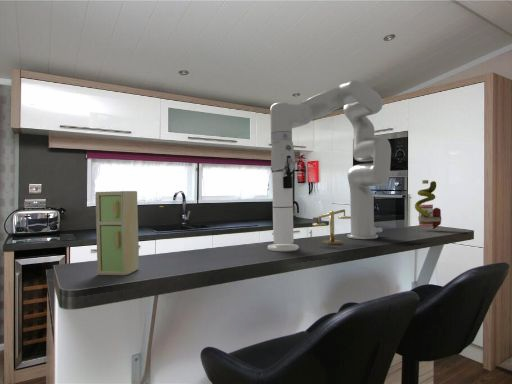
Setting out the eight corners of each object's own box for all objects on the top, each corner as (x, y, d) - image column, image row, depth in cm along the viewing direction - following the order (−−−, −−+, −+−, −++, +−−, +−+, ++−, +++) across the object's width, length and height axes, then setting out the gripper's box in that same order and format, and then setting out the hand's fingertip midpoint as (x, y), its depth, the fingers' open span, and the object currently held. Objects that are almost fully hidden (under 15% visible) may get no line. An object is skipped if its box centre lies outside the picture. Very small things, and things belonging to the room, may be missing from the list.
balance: (345, 241, 129) (345, 208, 129) (354, 242, 124) (353, 209, 125) (310, 244, 122) (309, 210, 122) (317, 246, 118) (316, 210, 118)
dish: (289, 245, 121) (289, 242, 121) (304, 249, 111) (304, 246, 111) (262, 247, 117) (262, 244, 117) (276, 252, 107) (276, 249, 107)
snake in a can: (416, 231, 156) (415, 180, 156) (414, 229, 165) (413, 180, 165) (443, 232, 151) (442, 179, 151) (440, 229, 161) (439, 180, 161)
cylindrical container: (270, 243, 112) (268, 172, 112) (278, 240, 119) (276, 173, 119) (289, 244, 109) (287, 171, 109) (296, 241, 115) (295, 172, 115)
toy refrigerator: (94, 275, 79) (93, 191, 79) (112, 268, 87) (111, 191, 87) (123, 276, 78) (122, 190, 78) (139, 269, 85) (138, 191, 86)
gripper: (303, 135, 107) (304, 187, 107) (279, 142, 123) (280, 188, 123) (283, 133, 104) (284, 188, 104) (261, 141, 120) (262, 189, 120)
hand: (282, 188), depth 114 cm, fingers closed on cylindrical container, 7 cm apart
